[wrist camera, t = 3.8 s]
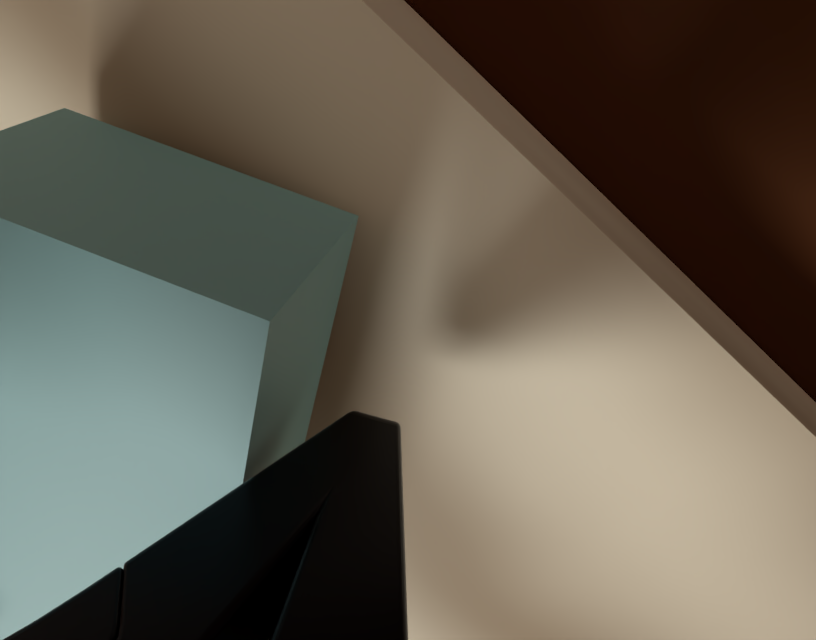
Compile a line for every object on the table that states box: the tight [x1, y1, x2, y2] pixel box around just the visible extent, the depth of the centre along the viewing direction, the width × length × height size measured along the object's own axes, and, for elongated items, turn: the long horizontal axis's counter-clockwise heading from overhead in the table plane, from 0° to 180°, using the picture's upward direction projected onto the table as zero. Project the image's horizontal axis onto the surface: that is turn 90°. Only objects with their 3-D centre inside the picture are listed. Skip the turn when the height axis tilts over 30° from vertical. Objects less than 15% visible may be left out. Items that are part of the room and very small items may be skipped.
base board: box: [0, 0, 816, 640], centre depth 14 cm, size 23×24×1 cm
